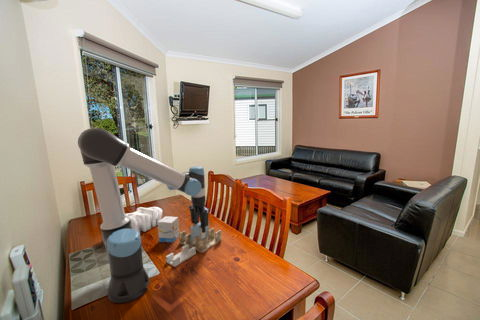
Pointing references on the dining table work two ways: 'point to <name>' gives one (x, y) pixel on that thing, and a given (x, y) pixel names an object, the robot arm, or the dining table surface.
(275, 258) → the dining table surface
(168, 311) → the dining table surface
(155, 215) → the wavy white extrusion
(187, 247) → the holder
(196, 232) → the pale blue slab
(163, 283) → the dining table surface
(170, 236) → the ink box
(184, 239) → the rack
